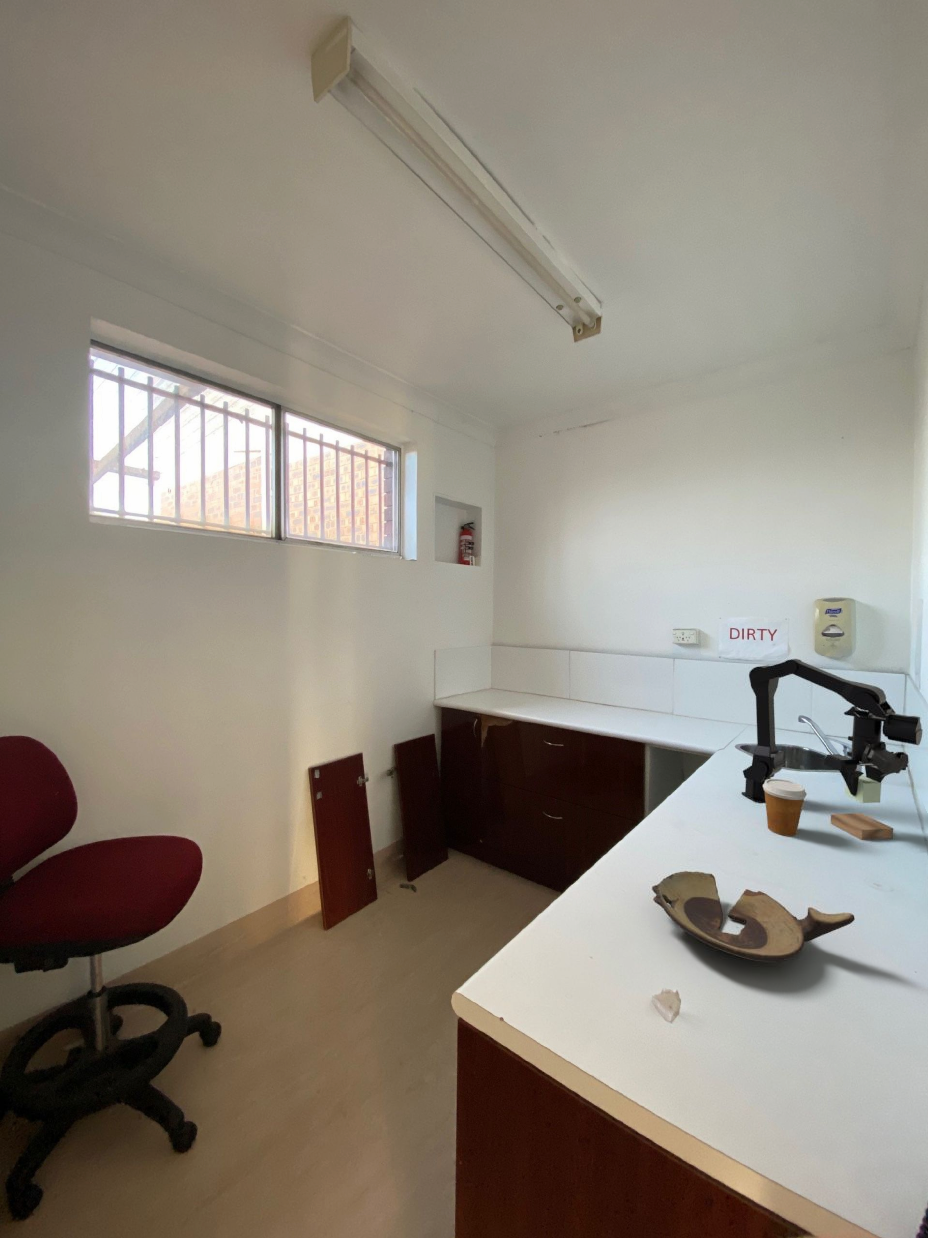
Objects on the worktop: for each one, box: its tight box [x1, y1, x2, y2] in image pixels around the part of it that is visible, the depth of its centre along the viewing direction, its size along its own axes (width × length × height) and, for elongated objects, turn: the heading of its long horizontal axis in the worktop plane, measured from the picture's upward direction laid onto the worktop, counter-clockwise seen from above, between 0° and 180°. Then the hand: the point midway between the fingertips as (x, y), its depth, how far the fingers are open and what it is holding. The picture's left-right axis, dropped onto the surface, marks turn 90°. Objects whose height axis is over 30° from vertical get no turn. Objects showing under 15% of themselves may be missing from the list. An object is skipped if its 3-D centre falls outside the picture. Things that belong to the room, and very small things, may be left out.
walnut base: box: [830, 812, 894, 841], centre depth 131 cm, size 9×9×2 cm
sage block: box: [845, 775, 882, 804], centre depth 131 cm, size 5×5×5 cm
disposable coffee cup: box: [763, 778, 808, 837], centre depth 130 cm, size 10×10×12 cm
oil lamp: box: [651, 870, 856, 963], centre depth 88 cm, size 22×30×8 cm
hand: (862, 794), depth 131 cm, fingers closed on sage block, 5 cm apart
